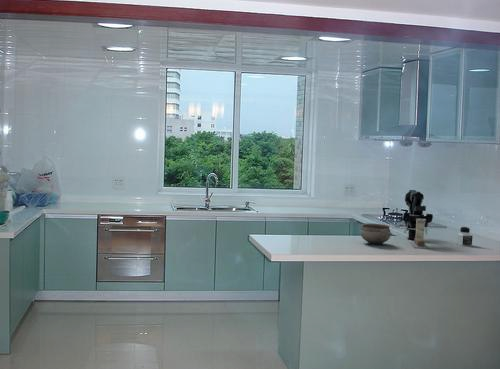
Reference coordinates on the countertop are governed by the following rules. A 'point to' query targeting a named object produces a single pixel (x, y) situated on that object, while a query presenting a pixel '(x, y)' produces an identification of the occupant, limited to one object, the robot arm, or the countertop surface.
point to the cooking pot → (375, 233)
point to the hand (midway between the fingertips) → (418, 227)
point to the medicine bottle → (464, 237)
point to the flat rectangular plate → (419, 244)
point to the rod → (420, 229)
